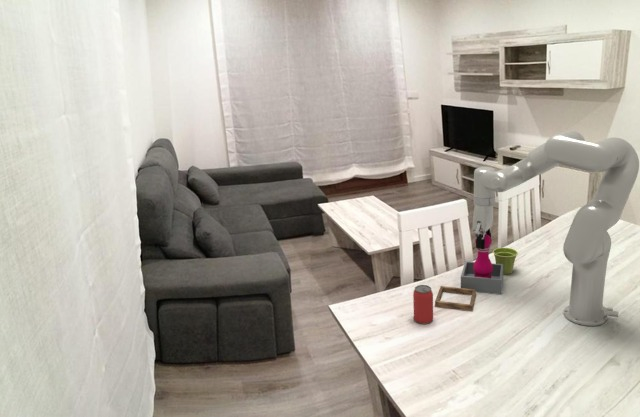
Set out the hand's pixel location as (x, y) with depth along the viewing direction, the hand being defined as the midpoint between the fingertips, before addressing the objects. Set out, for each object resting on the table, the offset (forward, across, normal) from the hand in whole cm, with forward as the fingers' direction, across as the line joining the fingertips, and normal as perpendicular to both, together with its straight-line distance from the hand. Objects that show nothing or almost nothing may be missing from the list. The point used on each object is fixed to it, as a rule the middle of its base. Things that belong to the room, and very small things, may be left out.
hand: (483, 245), depth 184 cm
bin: (+16, 0, 0) cm, 16 cm away
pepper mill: (+14, 0, 0) cm, 14 cm away
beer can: (+17, +36, -8) cm, 40 cm away
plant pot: (+17, -15, +4) cm, 23 cm away
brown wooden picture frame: (+16, +18, -4) cm, 24 cm away
